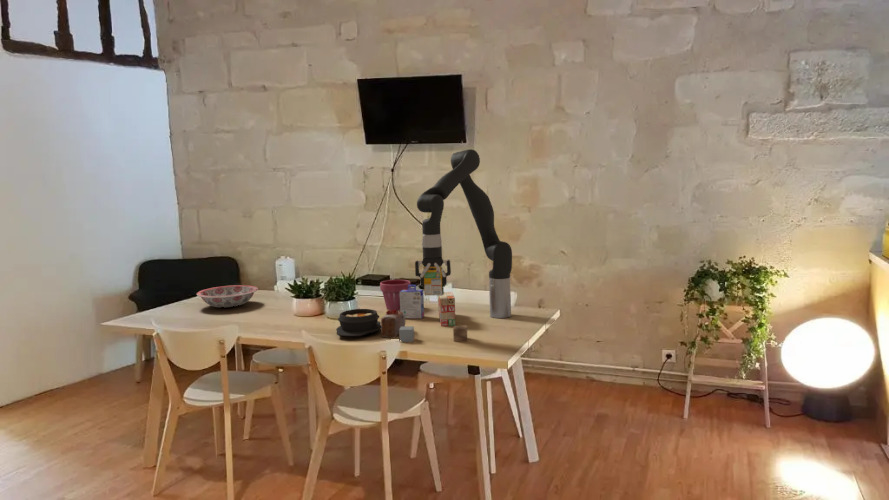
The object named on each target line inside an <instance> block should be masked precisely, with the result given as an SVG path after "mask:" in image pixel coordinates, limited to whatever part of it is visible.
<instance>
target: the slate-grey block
mask: <svg viewBox="0 0 889 500" xmlns="http://www.w3.org/2000/svg"><path fill="white" fill-rule="evenodd" d="M414 329H415V328H414V326H406V325H405V326H404V327H400V329H399V334H398V335H399V336H398V337H399V341H400V340H401V341H402V342H401V343H413V342H414V340H415V331H414Z"/></svg>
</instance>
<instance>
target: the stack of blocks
mask: <svg viewBox="0 0 889 500" xmlns="http://www.w3.org/2000/svg"><path fill="white" fill-rule="evenodd" d="M437 303H438V304H437V309H438V317H439V323H440V326H441V327H454V326H456V297H455V293H454V292H453V291H444V294H443V295H442V296H441V295H437Z"/></svg>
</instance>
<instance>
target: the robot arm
mask: <svg viewBox="0 0 889 500" xmlns="http://www.w3.org/2000/svg"><path fill="white" fill-rule="evenodd" d="M480 162H481V158H480V155H479V153H478V152H477V150H475V149H472V148H471V149H470V148H469V149H464V150H461V151H456V152H454V153H453V154H452V155H451V156H450V166H451V167H452V168H451V169H452V170H449V172H447V173H445V174H444V175H442V176H441V177H440V178H439V180H437V182H436V183H434V185H433V186H432V187H430V188H428V189H427V190H425V191H424V192H422V193H421V194H420V195H419V196H418V198H417V201H416V208H417V210H418V211H420V212H421V213H425V214H426V213H428V214H429V213H430V214H431V215H430V217H429V218H425V219H424V220H422V222H421V223H422V224H421V226H422V229H421V230H422V238H421V239H422V243H421V246H422V260H415V262H414V267H415V269H414V270H415V271H414V272H415V276H416V277H419V278H420V286H421V287H422V288H424V274H425V273H426V271H427V270H428V268H429V267H436V268H437V269H438V271H439V272H440V267H441V272H442V276H443V287H445V286H446V285H447V282H448V281H447V280H448V279H447V277H448V276H451V274H452V270H451V269H452V268H451V259H447V260H444V259H443V247H442V245H443V244H442V242H443V241H442V235H441V221H442V215H443V211H444V208H445V207H444V206H445V202H444V201H445V200H446V199H447V198H448V197H449V196H450V194H452V192H453V191H454V190H455V189H456V188H457V186H459V185H460V187H461V188H462V191H463V194H464V196H465V198H466V201H467V204H468V207H469V209H470V212H471V215H472V217H473V219H474V222H475V224H476V227H477V230H478V233H479V234H480V238H481V241H482V245H483V249H484V252H485V255H486V257H487V258H488V259H489V260H490V261H492V269H491V270H489V271H488V289H489V316H490V317H491V318H493V319H495V318H496V319H503V318H506V319H507V318H511V317H512V302H511V301H512V300H511V296H512V295H511V273H512V269H513V251H512V246H511V245H510V244H509V243H508V242H506V241H502V240H501V239H500V238H499V236H498V234H497V231H496V227H495V211H494V208H493V204H492V203H491V200H490V197H489V196H488V194H487V193H486V192H485V191H484V190H483V189H481V188H480V186H478V185H477V184H476V182H475V181H474V180H473V177H472V176H471V174H472V173H473V172H475V171H476V170H477V169H478V168H479V167H480ZM421 264H422V265H423V267H425V269H424V268H423V271H421V273H420V267H421V266H422V265H421ZM443 264H444V265H445V266H446V271H445V270H444V269H443V267H442V266H443ZM436 268H429V270H436Z"/></svg>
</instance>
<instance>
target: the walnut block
mask: <svg viewBox="0 0 889 500" xmlns="http://www.w3.org/2000/svg"><path fill="white" fill-rule="evenodd" d="M452 334H453V342H467V341H468V325H455V326H453V333H452Z"/></svg>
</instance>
